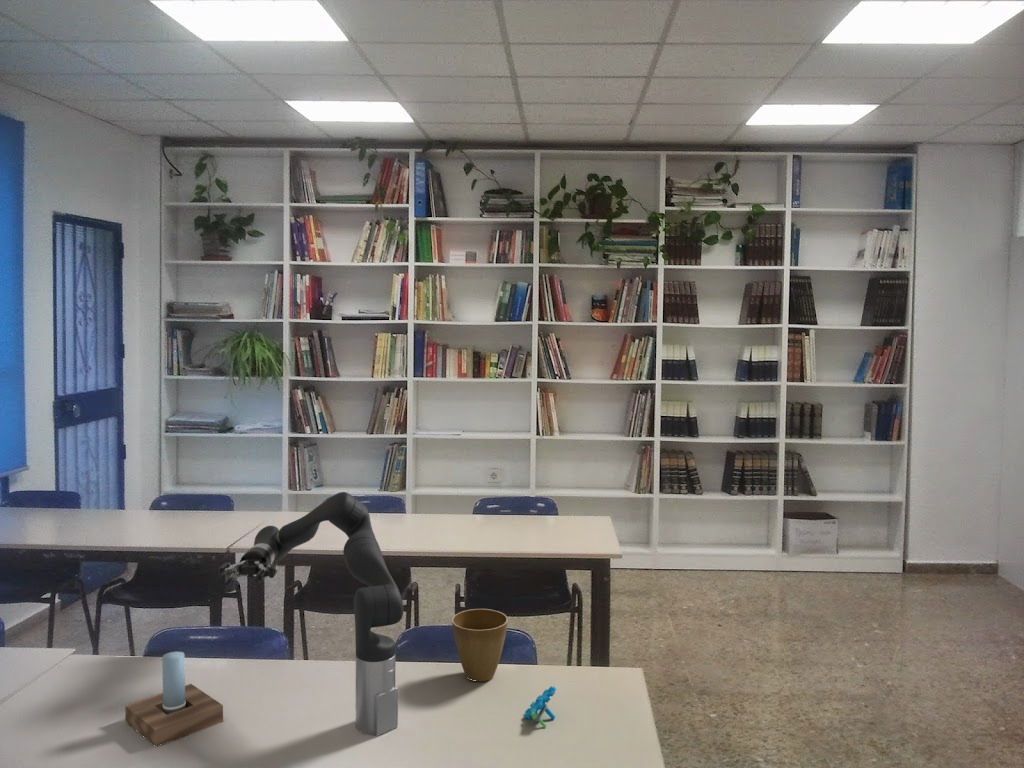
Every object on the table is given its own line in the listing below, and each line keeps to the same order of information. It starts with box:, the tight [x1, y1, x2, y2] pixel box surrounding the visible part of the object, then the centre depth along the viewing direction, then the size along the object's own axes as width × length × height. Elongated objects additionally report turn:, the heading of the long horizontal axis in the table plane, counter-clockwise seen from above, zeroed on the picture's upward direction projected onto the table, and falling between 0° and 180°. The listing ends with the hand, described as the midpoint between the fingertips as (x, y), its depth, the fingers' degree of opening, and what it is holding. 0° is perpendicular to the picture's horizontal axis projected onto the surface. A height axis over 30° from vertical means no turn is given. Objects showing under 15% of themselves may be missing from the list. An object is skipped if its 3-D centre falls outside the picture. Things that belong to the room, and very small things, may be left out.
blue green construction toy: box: [523, 685, 557, 728], centre depth 195 cm, size 11×6×10 cm
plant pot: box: [451, 608, 508, 682], centre depth 217 cm, size 15×15×16 cm
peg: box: [161, 651, 186, 715], centre depth 190 cm, size 5×5×16 cm
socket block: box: [124, 683, 224, 747], centre depth 191 cm, size 16×16×4 cm
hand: (240, 578), depth 207 cm, fingers open, 8 cm apart
